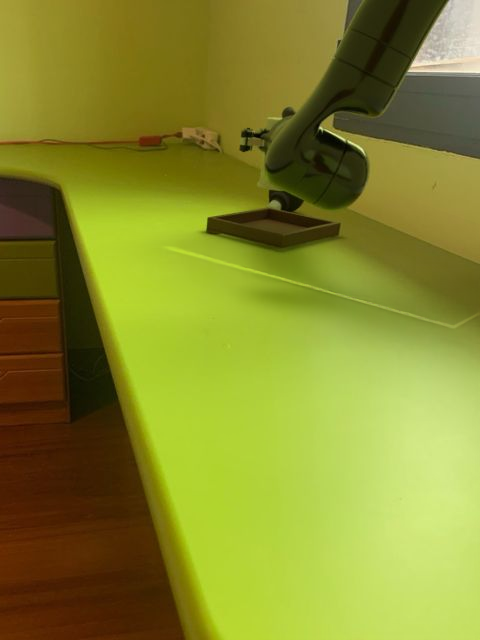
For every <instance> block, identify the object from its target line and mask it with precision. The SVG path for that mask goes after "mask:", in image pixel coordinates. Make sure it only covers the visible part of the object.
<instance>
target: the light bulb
mask: <svg viewBox="0 0 480 640" xmlns="http://www.w3.org/2000/svg"><path fill="white" fill-rule="evenodd" d="M304 202H305V201H304V200H302V199H300V198H298V197H296V196H294V195H291V194H290V193H287V192H285V191H276V190H268V204H267V205H266V206H265V208H268V207H269V208H273V209H278V210H283V211H287V212H292V213H294V212H295V211H297V210H298V209H299V208H301V207H302V205H303V204H304Z"/></svg>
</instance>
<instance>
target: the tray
mask: <svg viewBox="0 0 480 640" xmlns="http://www.w3.org/2000/svg"><path fill="white" fill-rule="evenodd" d="M341 225H342V222H339V221H334V220H330V219H326V218H325V219H324V218H320V217H315V216H311V215H306V214H301V213H298V212H287V211H283V210H278V209H273V208H269V207H268V208H266V207H262V208H261V207H260V208H256V209H248V210H243V211H237V212H231V213H225V214H219V215H214V216H207V219H206V229H205V232H206V233H208V234H212V235H221V234H223V235H225V236H226V235H227V236H230V237H234V238H238V239H243V240H247V241H250V242H254V243H258V244H262V245H266V246H269V247H274V248H278V249H285V248H289V247H294V246H297V245H301V244H306V243H310V242H315V241H320V240H323V239H327V238H332V237H336V236H339V235H340V230H341Z"/></svg>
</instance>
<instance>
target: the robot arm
mask: <svg viewBox="0 0 480 640" xmlns="http://www.w3.org/2000/svg"><path fill="white" fill-rule="evenodd" d="M449 2H450V0H362V1H361V2H360V4H359V6H358V8H357V10H356V11H355V13H354V15H353V17H352V18H351V20H350V21H349V25H348V26H347V28H346V30H345V31H344V34H343V36H342V38H341V40H340V42H339V44H338V46H337V48H336V50H335V52H334V55H333V58H332V59H331V61H330V63H329V65H328V66H327V68H326V70H325V72H324V73H323V75H322V77H321V78H320V80H319V81H318V83H317V85H316V86H315V87H314V89H312V92H311V93H310V95H308V97H307V98H306V100H305V101H304V102H303V103H302V104H301V106H300V107H299V108H298V110H296V113H295V114H294V115H292V116H288V117H285V118H283V119H281V120H279V121H278V122H277V123H276V124H275V125H274V126H273V127H266V126H265V127H263V128H262V127H260V128H256V130H255V131H254V129H253V128H251V127H246V128H243V129H242V130H241V131H240V139H239V140H240V141H239V148H238V150H239V151H240V152H241V153H246V152H252V151H253V147H254V148H255V149H256V150H259V151H260V152H261V154H262V155H263V154H265V162H264V170H265V175H266V178H267V180H268V181H269V182H270V183H271V184H272V185H273V186H275V187H277V188H279V189H281V190H283V191H285V192H287V193H290V194H291V195H294V196H296V197H298V198H300V199H302V200H304V202H306V203H308V204H310V205H311V204H312V205H313V206H315V207H316V208H318V209H321V210H324V211H326V212H339V211H343V210H345V209H347V208H348V207H350V206H352V205H353V204H354V203H355V202H356V201H357V200H358V199H360V197H361V196H362V194H363V192H364V191H365V189H366V187H367V184H368V182H369V178H370V174H371V162H370V158H369V154H368V153H367V151H366V150H365V149H364V147H362V146H361V145H359V144H358V143H356V142H354V141H352V140H350V139H348V138H346V137H343V136H342V135H340V134H338V133H335V132H333V131H331V130H329V129H327V128H325V127H324V126H323V125H322V124H323V123H324V122H325V121H326V120H328V118H330V117H331V116H332V115H336V114H338V113H347V114H352V115H356V116H361V117H365V118H370V119H371V118H372V119H374V118H379V117H381V116H382V115H383V114H384V113H385V112H386V111H387V109H388V108H389V106H390V105H391V103H392V102H393V99H395V96H396V94H397V92H398V90H399V89H400V87H401V85H402V83H403V81H404V80H405V78H406V76H407V74H408V72H409V70H410V69H411V67H412V65H413V64H414V62H415V60H416V58H417V56H418V54H419V52H420V51H421V50H422V49H421V48H422V47H423V46H424V44H425V41H426V40H427V38H428V36H429V35H430V33H431V31H432V29H433V28H434V26H435V24H436V22H437V21H438V19H439V17H440V16H441V15H442V13H443V11H444V10H445V8H446V6H447V5H448V4H449Z"/></svg>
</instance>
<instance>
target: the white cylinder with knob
mask: <svg viewBox="0 0 480 640" xmlns="http://www.w3.org/2000/svg"><path fill="white" fill-rule="evenodd" d="M296 112H297V110H296V109H295V108H294V107H293V106H287V107H285V108H284V109H283V110H282V112H281V117H275V116H274V117H266V121H265V122H266V123H265V127H273V126H274V125H275V124H276V123H277V122H278V121H279V120H281V119H283V118H285V117H288V116H292V115H294V114H295V113H296ZM264 162H265V154H262V157H261V167H260V175H259V180H257V183H256V186H257V187H258V188H259V189H264V190H268V191H269V190H276V191H283V190H281V189H279V188H277V187H275V186H273V185H272V184H271V183H270V182H269V181H268V180H267V178H266V175H265V170H264Z"/></svg>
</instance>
